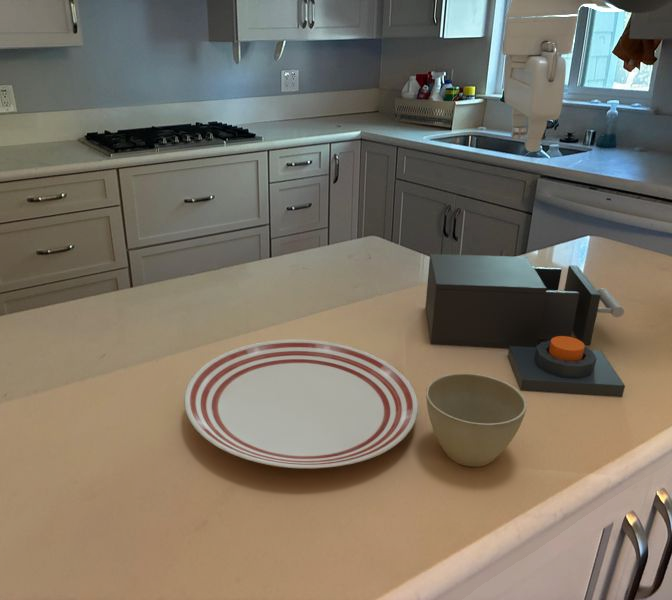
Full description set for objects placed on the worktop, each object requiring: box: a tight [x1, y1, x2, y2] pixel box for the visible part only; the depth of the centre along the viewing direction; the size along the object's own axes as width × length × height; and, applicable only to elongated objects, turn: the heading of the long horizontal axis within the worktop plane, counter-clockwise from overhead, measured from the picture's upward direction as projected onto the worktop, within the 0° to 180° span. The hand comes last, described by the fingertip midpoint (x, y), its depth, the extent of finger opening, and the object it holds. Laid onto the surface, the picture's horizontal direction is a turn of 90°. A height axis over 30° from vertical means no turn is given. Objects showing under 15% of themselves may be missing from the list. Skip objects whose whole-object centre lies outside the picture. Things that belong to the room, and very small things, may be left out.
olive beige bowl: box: [425, 372, 528, 468], centre depth 65 cm, size 10×10×7 cm
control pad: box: [507, 339, 626, 398], centre depth 80 cm, size 12×9×4 cm
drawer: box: [533, 264, 625, 347], centre depth 90 cm, size 18×11×8 cm, turn 81°
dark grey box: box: [424, 253, 547, 350], centre depth 92 cm, size 15×13×10 cm
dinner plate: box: [183, 339, 419, 469], centre depth 74 cm, size 28×27×3 cm
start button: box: [549, 336, 586, 361], centre depth 79 cm, size 4×4×2 cm
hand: (524, 144), depth 89 cm, fingers open, 8 cm apart
